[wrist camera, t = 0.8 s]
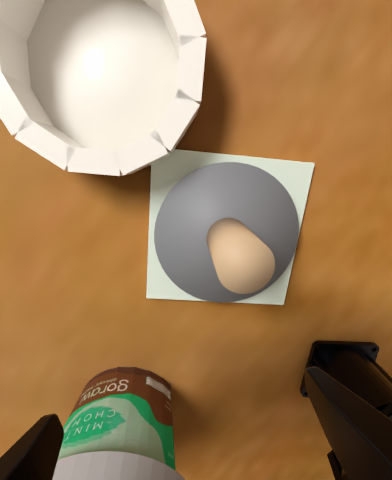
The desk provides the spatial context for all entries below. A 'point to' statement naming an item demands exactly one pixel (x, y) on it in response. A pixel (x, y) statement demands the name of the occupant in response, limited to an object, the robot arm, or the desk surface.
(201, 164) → the mat
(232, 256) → the lid
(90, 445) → the food container
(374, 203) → the desk surface
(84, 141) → the bowl
